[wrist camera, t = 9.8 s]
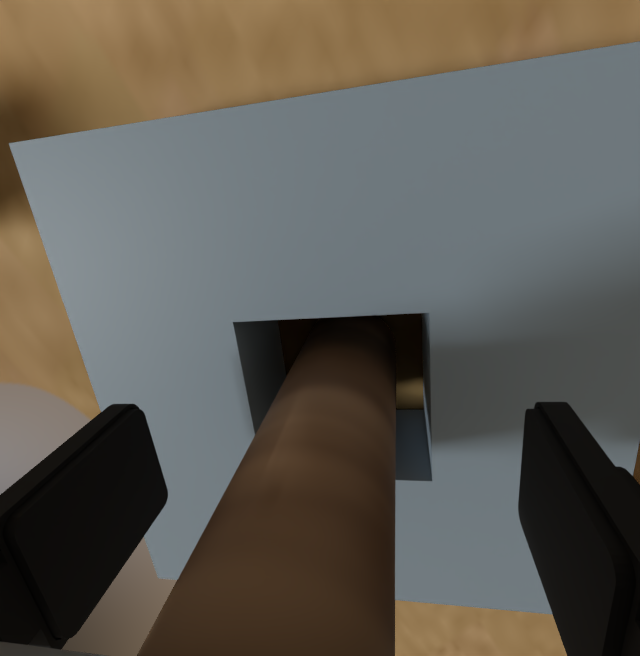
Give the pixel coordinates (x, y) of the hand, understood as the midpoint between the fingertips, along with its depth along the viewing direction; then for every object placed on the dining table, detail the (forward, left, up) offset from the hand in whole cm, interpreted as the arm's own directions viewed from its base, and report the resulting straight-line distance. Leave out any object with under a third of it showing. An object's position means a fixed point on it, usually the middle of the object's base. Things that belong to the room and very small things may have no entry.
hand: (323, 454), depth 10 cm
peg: (0, 0, -6) cm, 6 cm away
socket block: (0, 0, -6) cm, 6 cm away
